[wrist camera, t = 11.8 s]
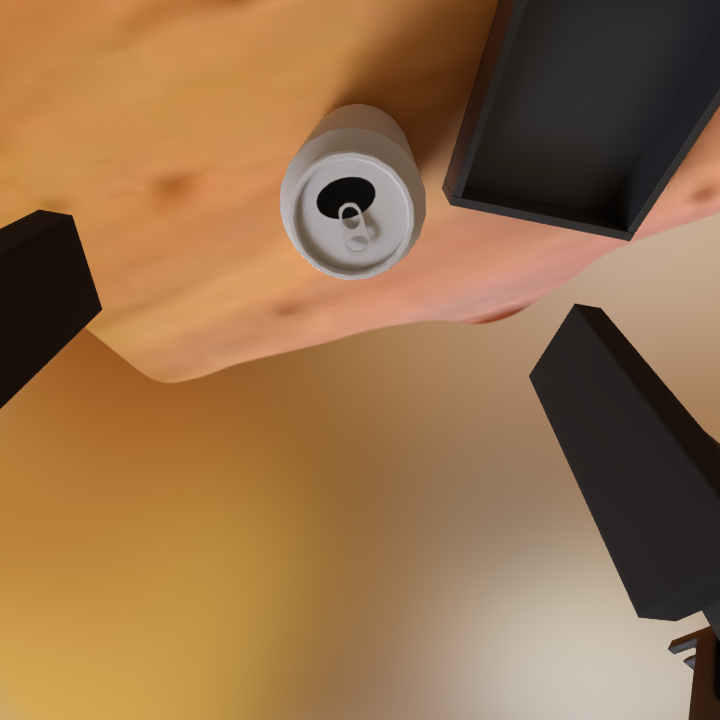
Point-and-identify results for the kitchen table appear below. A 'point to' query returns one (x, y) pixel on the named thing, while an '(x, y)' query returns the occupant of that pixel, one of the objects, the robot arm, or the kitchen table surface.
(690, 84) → the bin
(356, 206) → the can
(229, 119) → the kitchen table surface
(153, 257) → the kitchen table surface
